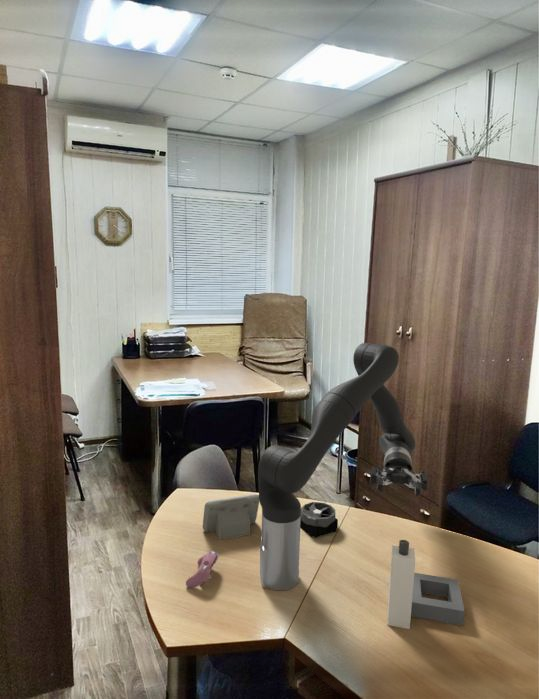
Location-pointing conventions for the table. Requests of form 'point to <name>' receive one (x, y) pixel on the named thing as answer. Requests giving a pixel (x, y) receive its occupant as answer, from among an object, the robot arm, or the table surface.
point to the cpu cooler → (318, 519)
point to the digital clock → (231, 515)
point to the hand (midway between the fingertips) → (399, 490)
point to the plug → (401, 585)
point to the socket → (435, 608)
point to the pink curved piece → (203, 569)
